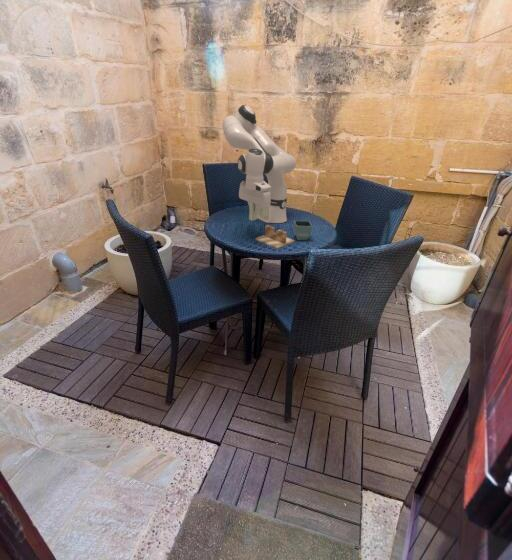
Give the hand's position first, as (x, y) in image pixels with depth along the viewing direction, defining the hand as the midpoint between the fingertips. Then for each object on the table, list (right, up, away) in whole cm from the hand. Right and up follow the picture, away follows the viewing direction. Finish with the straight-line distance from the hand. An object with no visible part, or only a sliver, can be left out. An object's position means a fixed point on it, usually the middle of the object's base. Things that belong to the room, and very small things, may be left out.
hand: (253, 210), depth 167 cm
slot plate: (+3, -3, +5) cm, 6 cm away
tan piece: (+12, -15, +7) cm, 20 cm away
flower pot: (+27, -13, +11) cm, 32 cm away
